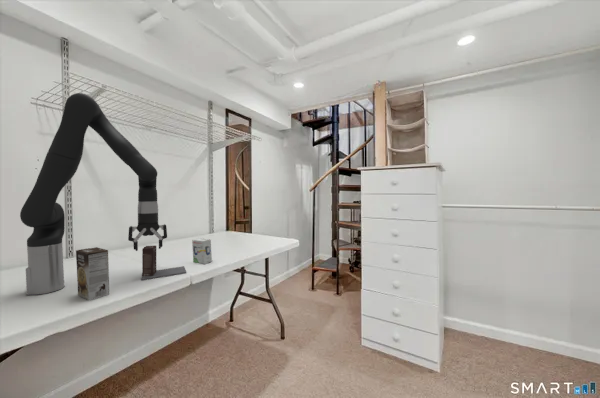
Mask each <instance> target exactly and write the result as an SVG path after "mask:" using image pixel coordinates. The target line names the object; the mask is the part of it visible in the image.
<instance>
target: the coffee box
mask: <svg viewBox="0 0 600 398" xmlns="http://www.w3.org/2000/svg"><path fill="white" fill-rule="evenodd" d="M75 258H76V260H75V261H76V277H77V278H76V279H77V295H78V296H80V297H81V298H83V299H85V300H86V301H93V300H95V299H98V298H99V299H100V298H101V297H104V296H109V295H110V269H109V264H110V263H109V249H105V248H100V247H91V248H82V249H77V250H75Z"/></svg>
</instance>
